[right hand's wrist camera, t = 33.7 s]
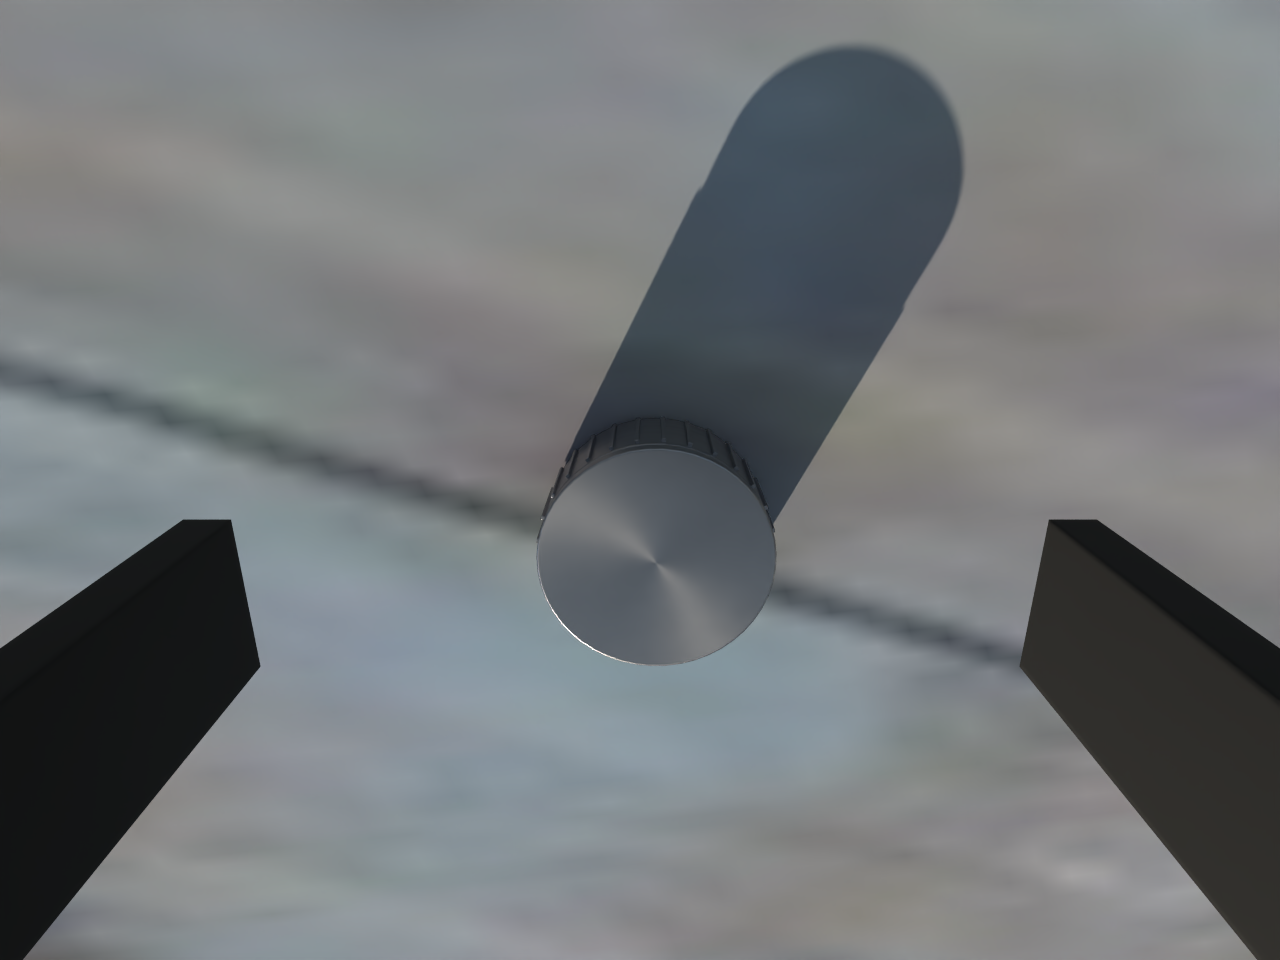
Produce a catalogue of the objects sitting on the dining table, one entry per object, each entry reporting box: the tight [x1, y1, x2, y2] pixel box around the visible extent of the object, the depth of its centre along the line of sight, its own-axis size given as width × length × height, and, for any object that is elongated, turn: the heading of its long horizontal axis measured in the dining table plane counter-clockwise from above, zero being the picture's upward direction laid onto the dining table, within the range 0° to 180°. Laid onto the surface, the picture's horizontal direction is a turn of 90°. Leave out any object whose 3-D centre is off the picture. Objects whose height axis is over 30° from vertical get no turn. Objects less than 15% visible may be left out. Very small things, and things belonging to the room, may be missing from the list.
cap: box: [537, 417, 776, 666], centre depth 15 cm, size 5×5×2 cm
